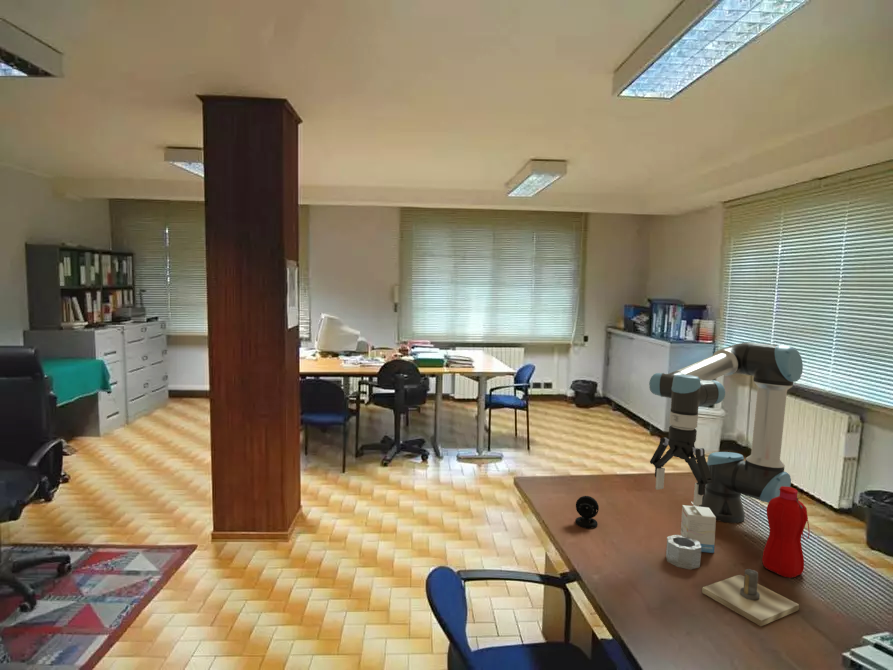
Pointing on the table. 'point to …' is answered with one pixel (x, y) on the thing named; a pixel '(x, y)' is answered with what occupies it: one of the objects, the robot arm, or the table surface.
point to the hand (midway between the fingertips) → (677, 496)
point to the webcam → (587, 512)
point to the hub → (683, 551)
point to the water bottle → (785, 534)
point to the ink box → (699, 526)
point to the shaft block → (750, 598)
